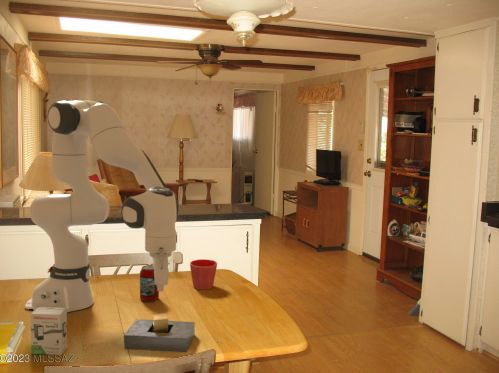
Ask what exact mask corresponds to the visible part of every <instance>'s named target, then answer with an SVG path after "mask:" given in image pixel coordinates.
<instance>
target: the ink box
mask: <svg viewBox="0 0 499 373" xmlns="http://www.w3.org/2000/svg"><path fill="white" fill-rule="evenodd" d="M67 314H68V312H67V309H66V308H53V307H38V308H36V309H35V310H32V312H31V313H30V354H31V355H49V356H50V355H52V356H53V355H54V356H57V355H58V356H61V355H62V354H63V353H64V352H65V351H66V350H67V349H68V320H67V319H68V315H67Z"/></svg>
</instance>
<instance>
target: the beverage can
mask: <svg viewBox="0 0 499 373" xmlns="http://www.w3.org/2000/svg"><path fill="white" fill-rule="evenodd" d="M159 294H160V292H158V291H157V285H155V279H154V264H147V265H142V267H141V269H140V271H139V298H140V300H142V301H144V302H154V301H156V300H158V298H159V297H160V295H159Z"/></svg>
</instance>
